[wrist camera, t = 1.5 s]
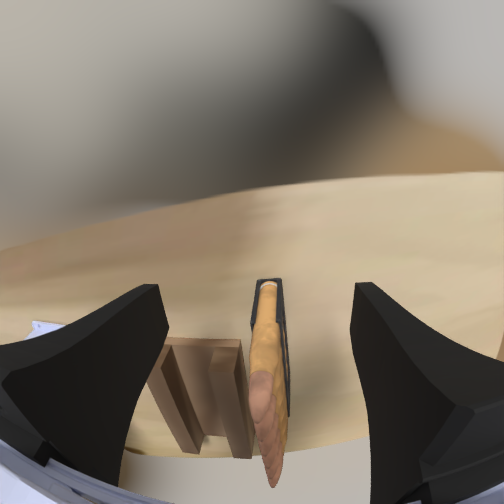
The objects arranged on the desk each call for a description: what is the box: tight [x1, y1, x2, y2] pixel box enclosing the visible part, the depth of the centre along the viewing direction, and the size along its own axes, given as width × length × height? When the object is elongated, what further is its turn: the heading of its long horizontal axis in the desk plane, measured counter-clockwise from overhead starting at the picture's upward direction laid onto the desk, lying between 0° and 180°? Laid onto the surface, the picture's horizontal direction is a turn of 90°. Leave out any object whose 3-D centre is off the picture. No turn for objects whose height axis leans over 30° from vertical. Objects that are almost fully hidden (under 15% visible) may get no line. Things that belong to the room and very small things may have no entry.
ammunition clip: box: [249, 278, 290, 488], centre depth 19 cm, size 11×2×12 cm, turn 7°
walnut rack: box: [146, 337, 255, 459], centre depth 26 cm, size 8×15×4 cm, turn 5°
